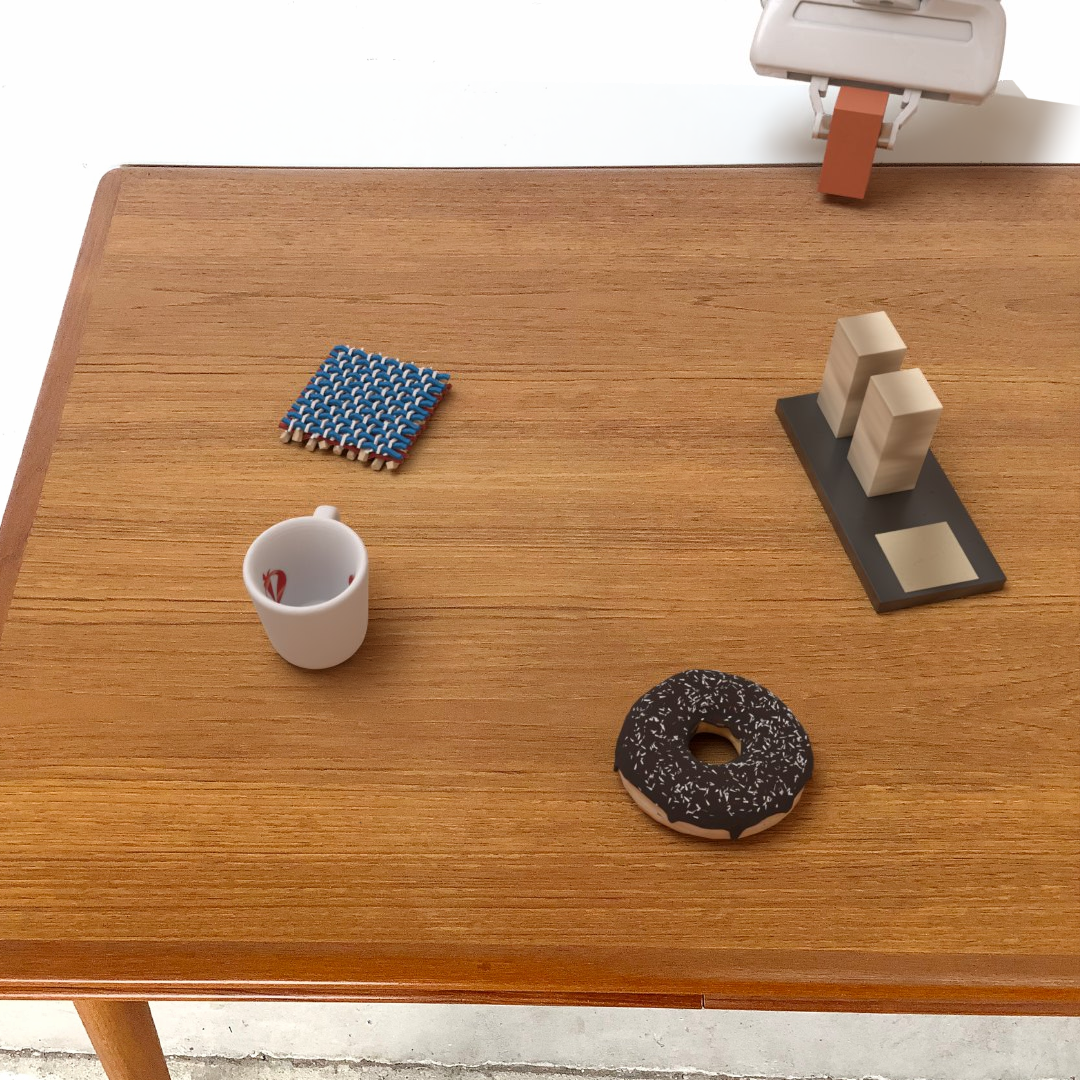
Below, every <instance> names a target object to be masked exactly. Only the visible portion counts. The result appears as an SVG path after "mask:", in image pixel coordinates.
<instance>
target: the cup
mask: <svg viewBox="0 0 1080 1080" xmlns="http://www.w3.org/2000/svg"><path fill="white" fill-rule="evenodd" d="M369 559H370V558H369V554H368V549H367V547H366V545H365V543H364V541H363V540H362V538H361V537H360V535H358V533H357V532H355V530H354V529H352V528H351V527H350V526H348V525H347V524H345V523H343V522H342V519H341V514H340V511H339V509H338V508H337V507H335V506H333V505H327V504H325V505H323V504H322V505H318V506H317V508H315V510H314V512H313V515H305V516H298V517H297V516H296V517H293V518H288V519H286V520H283V521H281V522H278V523H276V524H274V525H272V526H271V527H269V528H267V529H266V530H264V531H263V532H262V533H261V534H259V535H258V536H257V537H256V538H255V539H254V541H253V542H252V543H251V545H250V546H249V548H248V549H247V552H246V554H245V556H244V559H243V563H242V578H243V583H244V586H245V589H246V591H247V593H248V596H249V597H250V599H251V603H252V604H253V606H254V609H255V611H256V612H257V616H258V618H259V620H260V622H261V625H262V627H263V629H264V631H265V633H266V635H267V638H268V640H269V642H270V643H271V645H272V646H273V648H274V650H275V651H276V653H278V655H279V656H280V657H282V658H283V659H284V660H285V661H287V662H288V663H290V664H292V665H294V666H296V667H300V668H303V669H308V670H322V669H328V668H332V667H335V666H337V665H340V664H341V663H344V662H345V661H347V660H348V659H349V658H351V657H352V656H353V655H355V653H356V652H357V651H358V649H360V647H361V645H362V643H363V642H364V639H365V637H366V634H367V630H368V625H369V588H370V587H369V584H370V583H369V580H370V577H369V576H370V573H369V572H370V560H369Z"/></svg>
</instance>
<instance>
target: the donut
mask: <svg viewBox="0 0 1080 1080" xmlns="http://www.w3.org/2000/svg"><path fill="white" fill-rule="evenodd" d="M700 733H708V734H715V735H718V736H721V737H722V738H723V737H724V738H725V739H727V740H729V741H730V743H731V744H732V745H733V747H734V749H735V750H736V752H737V754H738V757H737V758H734V759H733V760H730V761H729V762H725V763H723V764H712V763H707V762H704V761H701V760H700V759H697V757H695V756H694V755H693V754H692V753H691V750H690V749H689V746H690V742H691V741H692V739H694V737H695V735H696V734H700ZM613 762H614V763H613V769H612V771H613V772H614V773H618V772H619V773H618V774H619V775H620V779H621V782H622V785H623V787H624V788H625V790H626V791H627V793H628V794H629V796H630V797H631V798H632V799H633V801H634V803H635V804H636V806H638V808H639V809H640V810H641V811H642V812H644V813H645V814H647V815H648V816H649V817H651V818H652V819H653V820H654V821H656V823H657V822H658V823H659V824H661V825H664V826H666V827H668V828H670V829H672V830H674V831H676V832H678V833H683V834H687V835H691V836H695V837H696V836H697V837H702V838H707V839H712V840H730V841H733V842H734V841H737V840H738V839H741V838H746V837H749V836H751V835H755V834H758V833H760V832H763V831H765V830H767V829H769V828H771V827H773V826H775V825H777V824H778V823H779V822H781V821H782V820H783V819H784V818H785V817H787V815H789V814H790V813H791V812H792V810H793V809H794V808H795V807H796V805H797V804H798V802H799V801H800V799H801V796H802V794H803V791H804V789H805V785H806V784H807V783H808V781H811V780H813V771H814V768H815V767H814V765H815V757H814V753H813V749H812V743H811V740H810V736H809V733H807V731H806V729H805V728H804V726H803V725H802V723H801V722H800V721H799V720H798V717H797V716H796V714H794V713H793V711H792V710H791V709H790V708H789V707H788V706H787V705H786V704H785V703H784V702H783V700H782V699H781V698H780V697H778V696H777V695H776V694H775V692H771V691H770V690H769V689H768V688H767V687H764V686H762V685H761V684H760V683H758V682H755V681H753V680H750V679H748V678H745V677H743V676H740V675H737V674H736V675H735V674H731V673H729V672H722V671H721V670H717V669H701V668H692V669H686V670H683V671H680V672H678V673H675V674H673V675H671V676H670V677H667V678H666V679H664V680H662V681H661V682H659V683H657V684H655V686H653V687H651V688H650V689H649V690H647V691H646V692H645V693H644V694H642V695H640V697H638V699H636V701H635V702H634V703H633V704H632V705H631V707H630V709H629V711H628V713H627V714H626V716H625V718H624V721H623V723H622V726H621V728H620V731H619V734H618V737H617V739H616V744H615V749H614V761H613Z"/></svg>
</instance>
